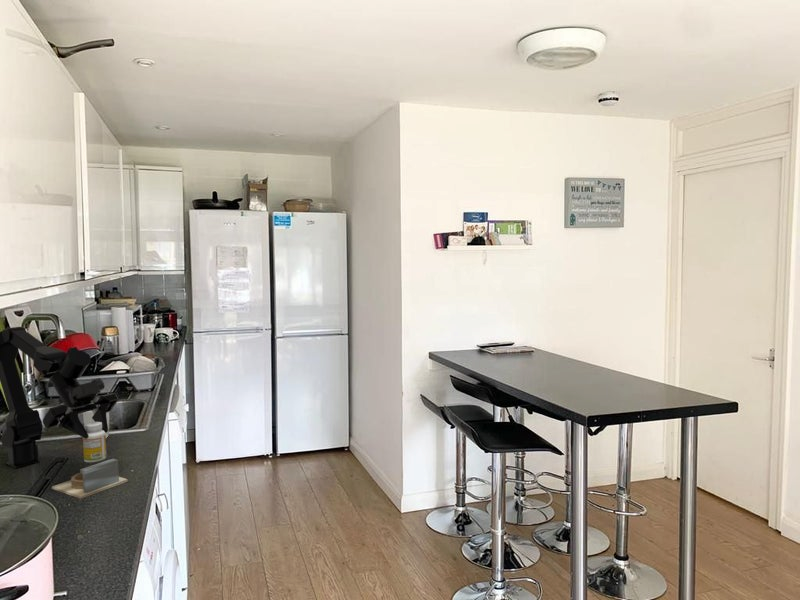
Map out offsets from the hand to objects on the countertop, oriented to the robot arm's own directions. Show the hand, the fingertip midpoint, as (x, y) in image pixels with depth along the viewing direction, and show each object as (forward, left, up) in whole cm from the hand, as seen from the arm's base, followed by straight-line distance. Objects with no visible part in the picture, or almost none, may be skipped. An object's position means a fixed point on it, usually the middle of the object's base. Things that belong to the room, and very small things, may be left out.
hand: (97, 434), depth 158 cm
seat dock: (-2, +1, -13) cm, 13 cm away
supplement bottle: (0, +1, -7) cm, 7 cm away
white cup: (+21, +39, -13) cm, 47 cm away
